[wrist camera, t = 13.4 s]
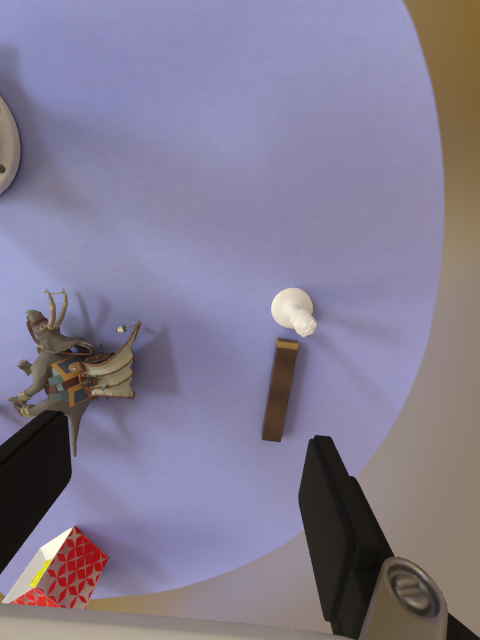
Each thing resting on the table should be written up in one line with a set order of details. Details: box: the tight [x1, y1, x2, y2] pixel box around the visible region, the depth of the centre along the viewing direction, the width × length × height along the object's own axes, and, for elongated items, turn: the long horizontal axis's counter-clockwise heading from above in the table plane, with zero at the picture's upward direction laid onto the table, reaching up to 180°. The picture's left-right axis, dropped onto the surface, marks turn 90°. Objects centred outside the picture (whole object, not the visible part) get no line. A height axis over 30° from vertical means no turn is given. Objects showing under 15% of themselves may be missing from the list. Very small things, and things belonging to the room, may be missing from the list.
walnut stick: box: [262, 338, 299, 442], centre depth 35 cm, size 14×3×1 cm, turn 173°
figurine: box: [6, 288, 141, 457], centre depth 32 cm, size 20×6×17 cm
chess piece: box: [271, 288, 317, 338], centre depth 28 cm, size 5×5×10 cm
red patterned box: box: [2, 526, 109, 609], centre depth 39 cm, size 8×8×8 cm
